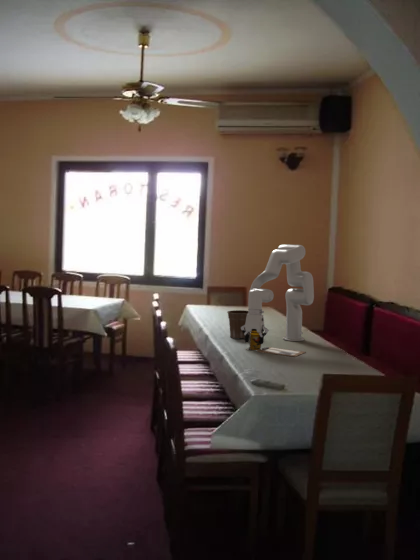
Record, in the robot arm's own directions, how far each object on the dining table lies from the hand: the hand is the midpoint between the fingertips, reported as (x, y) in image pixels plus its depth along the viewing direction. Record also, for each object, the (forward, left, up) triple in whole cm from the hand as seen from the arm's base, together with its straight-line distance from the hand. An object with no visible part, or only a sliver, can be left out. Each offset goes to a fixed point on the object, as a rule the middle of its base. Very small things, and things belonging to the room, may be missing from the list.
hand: (254, 342), depth 318 cm
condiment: (0, 0, -4) cm, 4 cm away
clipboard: (-2, +16, -4) cm, 17 cm away
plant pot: (-28, -24, -4) cm, 37 cm away
